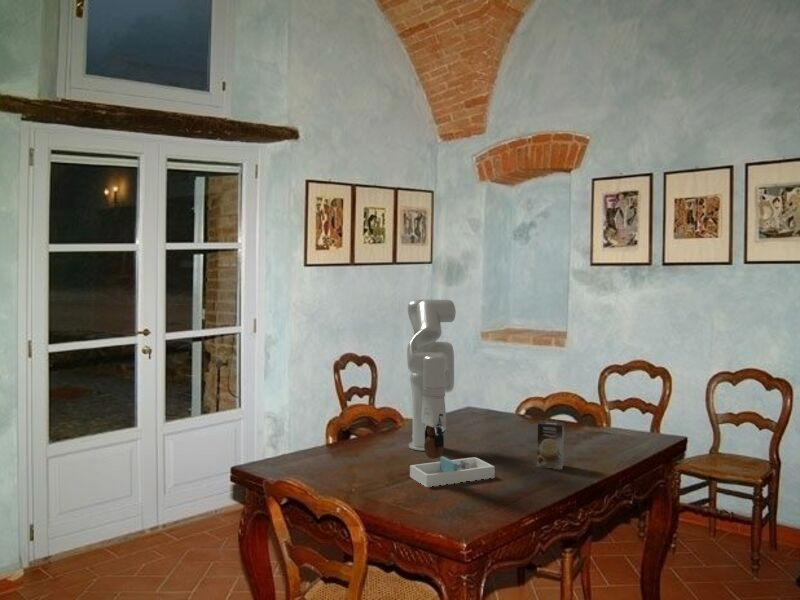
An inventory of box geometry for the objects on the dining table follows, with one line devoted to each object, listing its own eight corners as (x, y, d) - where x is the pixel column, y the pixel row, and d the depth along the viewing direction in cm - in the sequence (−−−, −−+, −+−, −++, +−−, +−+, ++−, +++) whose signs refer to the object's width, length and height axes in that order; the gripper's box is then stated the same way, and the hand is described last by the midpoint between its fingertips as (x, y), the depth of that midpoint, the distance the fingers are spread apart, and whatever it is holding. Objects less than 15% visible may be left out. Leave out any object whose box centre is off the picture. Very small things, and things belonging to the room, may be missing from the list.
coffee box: (536, 467, 254) (536, 423, 253) (538, 462, 260) (539, 419, 259) (562, 470, 251) (562, 425, 250) (563, 465, 257) (564, 421, 256)
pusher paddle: (440, 470, 245) (440, 456, 245) (458, 467, 248) (459, 454, 248) (453, 478, 236) (453, 463, 236) (473, 475, 239) (473, 461, 239)
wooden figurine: (436, 461, 234) (436, 416, 233) (421, 458, 237) (421, 414, 236) (446, 456, 240) (446, 412, 239) (431, 454, 243) (431, 411, 242)
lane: (410, 476, 242) (410, 465, 242) (475, 468, 253) (475, 457, 253) (426, 487, 231) (426, 475, 230) (494, 478, 241) (494, 466, 241)
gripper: (413, 388, 244) (413, 439, 245) (435, 396, 228) (435, 451, 229) (432, 387, 247) (432, 437, 248) (456, 395, 231) (455, 449, 232)
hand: (434, 443), depth 238 cm, fingers closed on wooden figurine, 6 cm apart
